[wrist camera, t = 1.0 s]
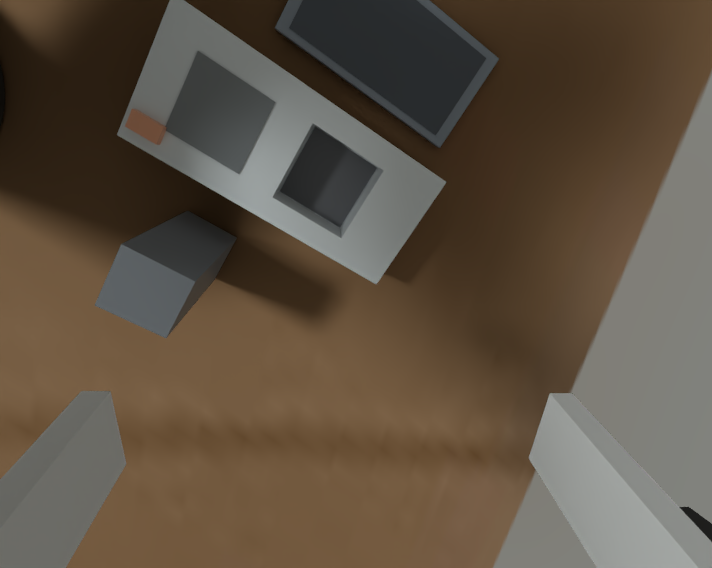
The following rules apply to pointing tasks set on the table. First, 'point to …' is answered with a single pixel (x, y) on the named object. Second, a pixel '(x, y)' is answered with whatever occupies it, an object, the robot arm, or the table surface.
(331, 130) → the power strip
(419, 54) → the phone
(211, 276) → the block
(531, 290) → the table surface
